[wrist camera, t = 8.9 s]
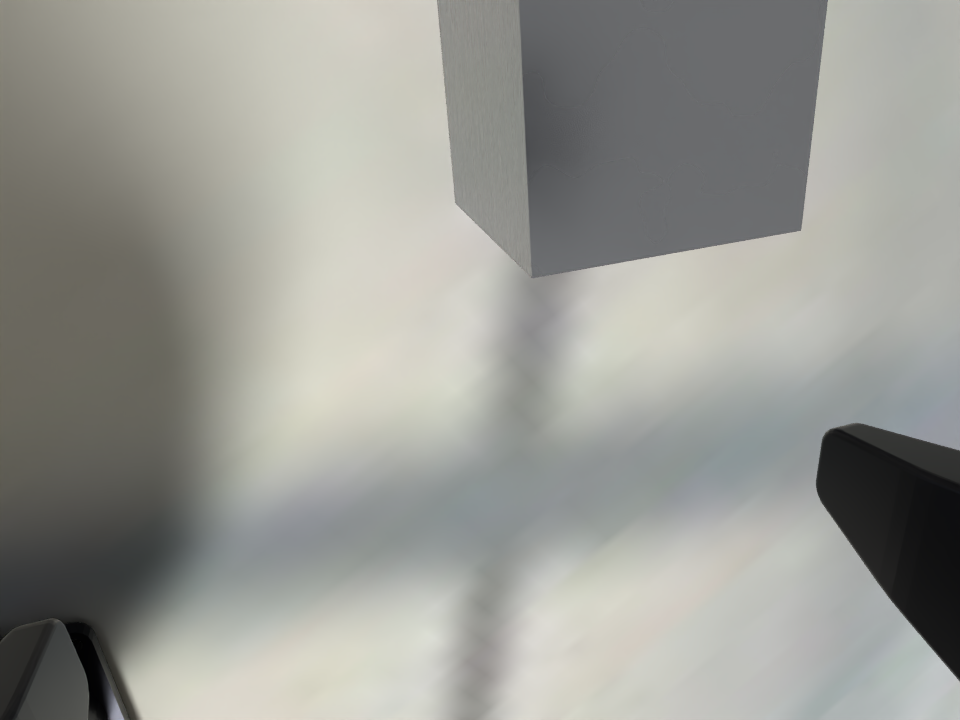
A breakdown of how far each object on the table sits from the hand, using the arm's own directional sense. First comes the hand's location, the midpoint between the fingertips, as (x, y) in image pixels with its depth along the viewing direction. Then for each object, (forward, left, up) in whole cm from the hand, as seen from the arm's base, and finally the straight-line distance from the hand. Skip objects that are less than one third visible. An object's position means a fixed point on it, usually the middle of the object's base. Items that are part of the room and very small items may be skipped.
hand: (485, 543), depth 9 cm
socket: (+4, -6, -13) cm, 14 cm away
